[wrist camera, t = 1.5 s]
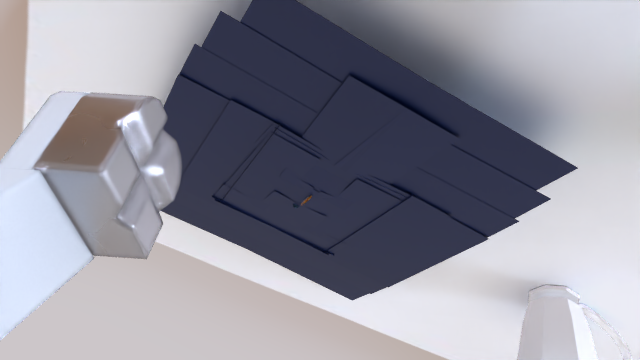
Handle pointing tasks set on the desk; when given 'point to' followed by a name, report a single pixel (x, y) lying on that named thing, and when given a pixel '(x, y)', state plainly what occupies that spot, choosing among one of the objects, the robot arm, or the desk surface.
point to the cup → (561, 327)
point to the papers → (339, 153)
